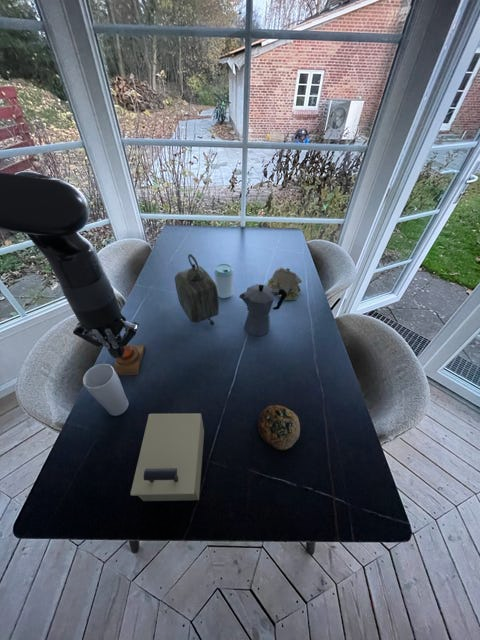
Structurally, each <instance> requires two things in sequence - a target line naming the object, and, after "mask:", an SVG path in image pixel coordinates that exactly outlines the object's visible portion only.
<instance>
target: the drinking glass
mask: <svg viewBox="0 0 480 640" xmlns="http://www.w3.org/2000/svg"><path fill="white" fill-rule="evenodd" d="M113 367H114V366H112V365H111V364H108V363H99V364H95V365H93V366H92V367H90V368H89V369H88V370H87V371H86V372H85V373H84V375H83V377H82V384H83V386H84V387H85V390H86V391H87V392H88V393H89V394H90V396H91V397H92V398H93V399H95V401H96V402H97V403H98V404H100V406H102V408H104V409H105V410H106V412H107V413H108V414H109V415H110V416H114V417H117V416H121V415H122V414H124V413H125V412H126V411H127V410H128V408H129V405H130V404H129V399H128V398H127V396H126V393H125V390H124V388H123V385H122V382H121V379H120V378H119V377H120V376H119V375H117V373H116V372H115V370H114V369H113Z"/></svg>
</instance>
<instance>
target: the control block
mask: <svg viewBox="0 0 480 640" xmlns="http://www.w3.org/2000/svg"><path fill="white" fill-rule="evenodd" d="M125 347H131V348H132V350H133V353H134V354H133V356H132V357H131V358H130V359H127V360H124V359H122V358H115V362H114V364H113V366H112V367H113V369H114V370H115V372H116V373H117V375H118V376H138V375H139V371H140V367H141V365H142V361H143V358H144V355H145V351H146V346H145V344H127V345H126V346H125Z"/></svg>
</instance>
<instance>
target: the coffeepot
mask: <svg viewBox="0 0 480 640" xmlns="http://www.w3.org/2000/svg"><path fill="white" fill-rule="evenodd" d="M278 295H281V297H279V299H278V301H277V302H276V303H277V304H276V306H273V303H274V300H275V296H278ZM286 296H287V292H286V291H285V290H284V289H273V290H272V289H271V288H270V287H269V286H268V284H267V285H266V284H265V285H264V284H259V283H256V284H254V285H251V286H248V287H247V288H246V291H244V292H242V293H240V294H239V296H238V297H239V299H241V300H242V301H243V302H244V303H245V305H246V309H247V315H246V319H245V323H244V326H243V329H244V330H245V331H246V333H247V334H249V336H250V335H251V336H254V337H262V336H265V335H266V334H268V333H269V332H270V327H271V321H270V320H271V319H270V311H271V309H272V310H274V311H277V310H279V309H280V308H281V306H282V305H283V303H284V302H285V301H286V300H285V298H286ZM272 306H273V307H272Z"/></svg>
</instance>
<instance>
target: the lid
mask: <svg viewBox="0 0 480 640" xmlns="http://www.w3.org/2000/svg"><path fill="white" fill-rule="evenodd" d="M201 416H202V413H149V414H148V417H147V421H146V426H145V430H144V435H143V439H142V442H141V446H140V451H139V456H138V459H137V464H136V468H135V473H134V477H133V480H132V485H131V489H130V494H129V495H130V496H131V497H134V496H135V497H137V496H138V497H139V496H145V495H194V493H195V482H196V470H197V459H198V448H199V436H200V425H201Z"/></svg>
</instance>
